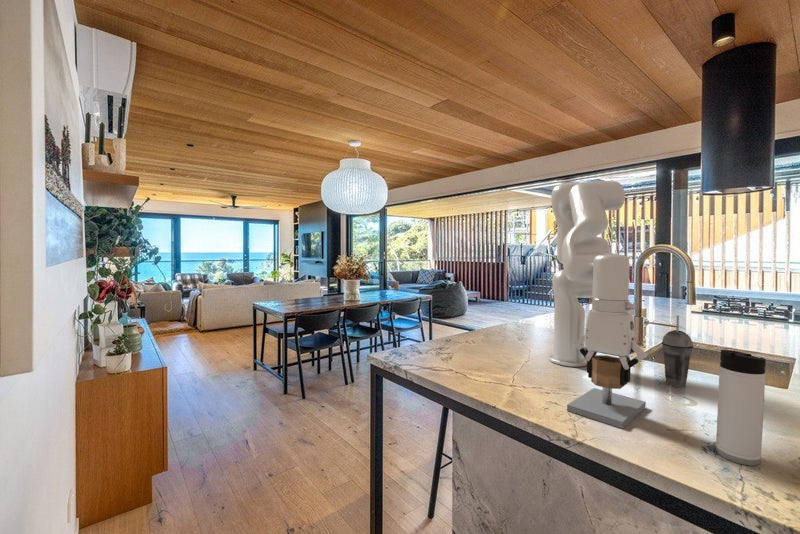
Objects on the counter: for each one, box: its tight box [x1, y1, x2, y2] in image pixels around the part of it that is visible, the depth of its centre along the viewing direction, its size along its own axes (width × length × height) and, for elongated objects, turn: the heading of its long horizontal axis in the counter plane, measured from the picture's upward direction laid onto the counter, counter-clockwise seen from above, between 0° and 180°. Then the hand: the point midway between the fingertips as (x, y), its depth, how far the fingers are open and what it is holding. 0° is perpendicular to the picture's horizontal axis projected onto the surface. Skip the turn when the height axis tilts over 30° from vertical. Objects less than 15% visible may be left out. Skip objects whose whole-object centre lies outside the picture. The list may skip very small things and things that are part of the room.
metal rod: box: [601, 387, 613, 405], centre depth 90 cm, size 2×2×9 cm
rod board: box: [566, 387, 647, 430], centre depth 91 cm, size 16×12×2 cm
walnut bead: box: [590, 354, 625, 390], centre depth 90 cm, size 6×6×6 cm
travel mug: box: [715, 349, 767, 467], centre depth 70 cm, size 6×7×20 cm
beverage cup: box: [661, 315, 694, 389], centre depth 106 cm, size 7×7×20 cm
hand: (607, 379), depth 90 cm, fingers closed on walnut bead, 6 cm apart
